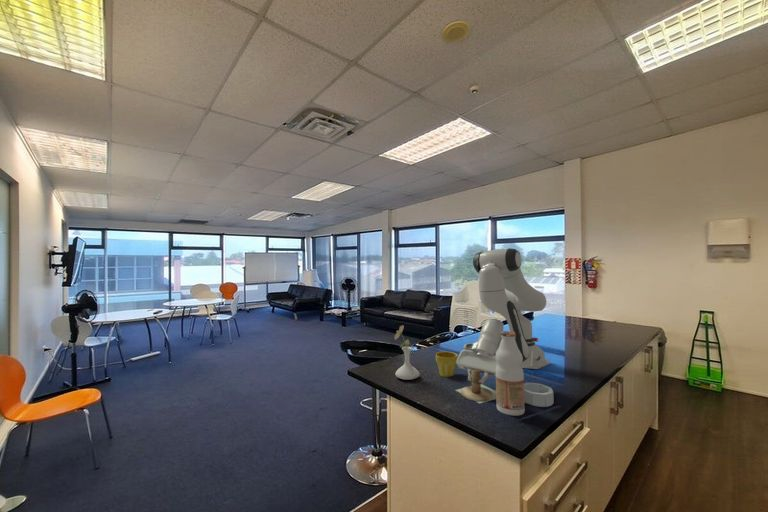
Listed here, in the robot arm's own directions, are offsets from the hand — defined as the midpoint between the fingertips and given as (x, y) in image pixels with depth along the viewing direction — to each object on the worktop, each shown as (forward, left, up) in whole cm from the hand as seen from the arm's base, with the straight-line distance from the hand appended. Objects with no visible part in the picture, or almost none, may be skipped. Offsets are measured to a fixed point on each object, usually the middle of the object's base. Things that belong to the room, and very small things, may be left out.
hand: (475, 381), depth 122 cm
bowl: (-17, +14, -6) cm, 23 cm away
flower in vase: (+14, -31, -6) cm, 34 cm away
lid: (-1, 0, -5) cm, 5 cm away
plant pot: (-5, -25, -6) cm, 26 cm away
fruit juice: (-2, +15, -6) cm, 16 cm away
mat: (-3, -1, -6) cm, 7 cm away
